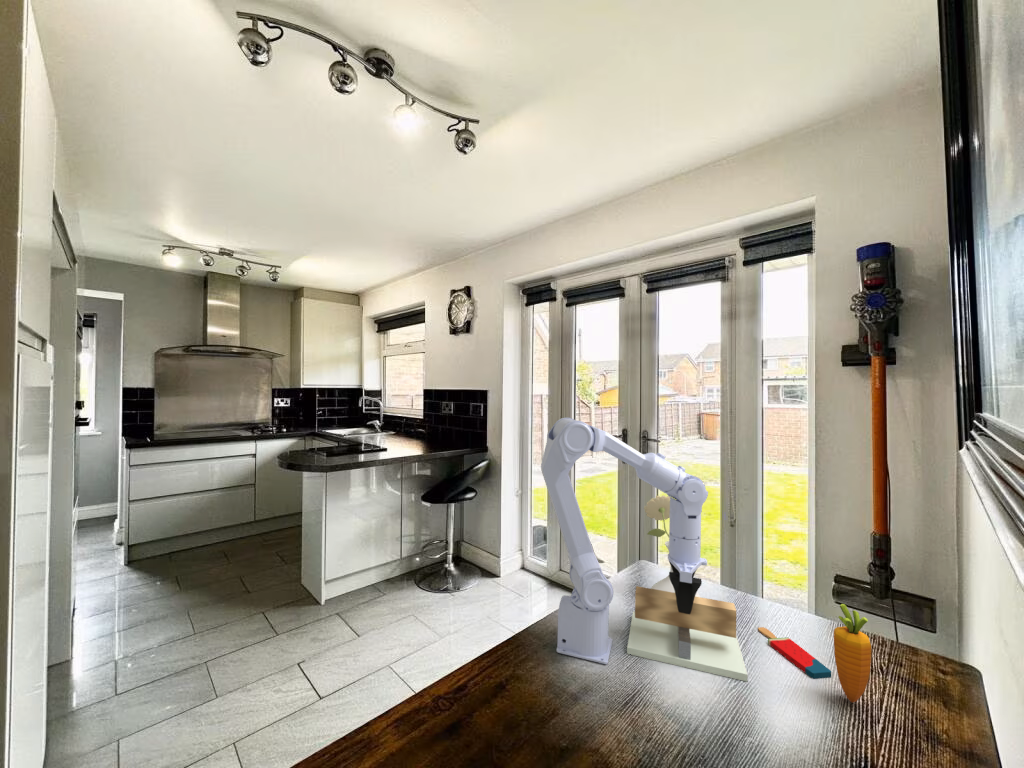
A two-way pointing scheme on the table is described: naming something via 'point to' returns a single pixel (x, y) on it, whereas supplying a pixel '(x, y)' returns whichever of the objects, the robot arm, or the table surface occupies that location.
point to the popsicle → (797, 655)
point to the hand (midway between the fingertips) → (683, 604)
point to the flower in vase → (661, 533)
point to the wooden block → (702, 618)
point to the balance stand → (686, 648)
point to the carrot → (852, 655)
